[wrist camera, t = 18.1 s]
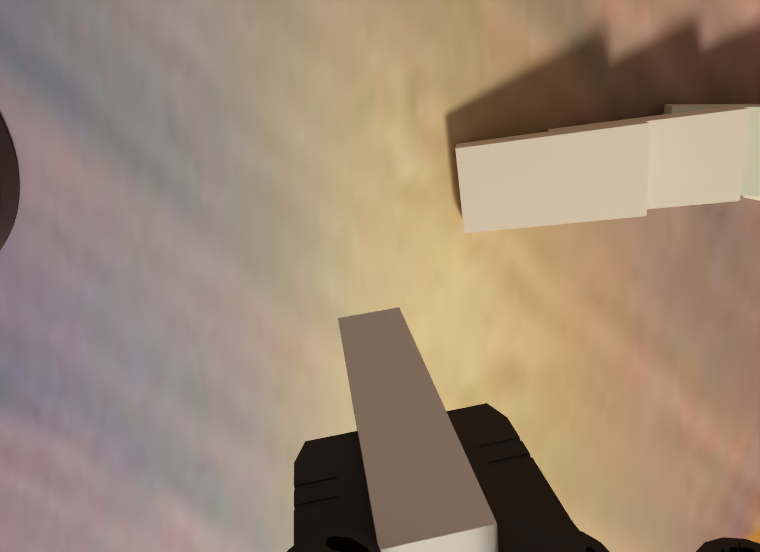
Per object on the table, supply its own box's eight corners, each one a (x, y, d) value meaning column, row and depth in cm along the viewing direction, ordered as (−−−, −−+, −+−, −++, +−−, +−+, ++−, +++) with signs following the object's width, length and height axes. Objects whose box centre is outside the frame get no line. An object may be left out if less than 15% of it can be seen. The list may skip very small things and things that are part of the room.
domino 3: (656, 192, 31) (850, 199, 29) (672, 106, 29) (882, 106, 27) (650, 185, 33) (833, 191, 31) (665, 104, 31) (862, 103, 29)
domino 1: (464, 233, 31) (646, 215, 28) (455, 148, 29) (649, 122, 27) (465, 224, 32) (637, 207, 30) (456, 143, 30) (639, 119, 28)
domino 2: (553, 217, 31) (739, 200, 29) (550, 132, 29) (749, 108, 27) (549, 209, 33) (725, 193, 30) (547, 129, 31) (734, 105, 29)
